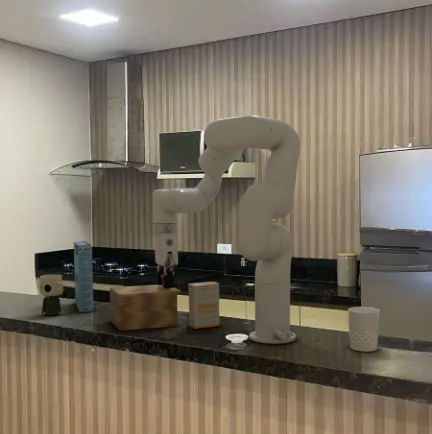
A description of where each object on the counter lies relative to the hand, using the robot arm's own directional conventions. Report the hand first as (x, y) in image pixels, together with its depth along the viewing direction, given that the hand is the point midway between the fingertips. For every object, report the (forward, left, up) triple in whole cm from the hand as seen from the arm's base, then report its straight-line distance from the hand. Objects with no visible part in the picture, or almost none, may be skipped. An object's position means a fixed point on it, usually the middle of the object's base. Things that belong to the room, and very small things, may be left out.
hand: (165, 286), depth 187 cm
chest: (0, +7, -11) cm, 13 cm away
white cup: (-51, -38, -11) cm, 64 cm away
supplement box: (-11, -9, -11) cm, 18 cm away
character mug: (+25, +32, -11) cm, 42 cm away
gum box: (+35, +20, -11) cm, 42 cm away
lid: (0, +7, -1) cm, 7 cm away
